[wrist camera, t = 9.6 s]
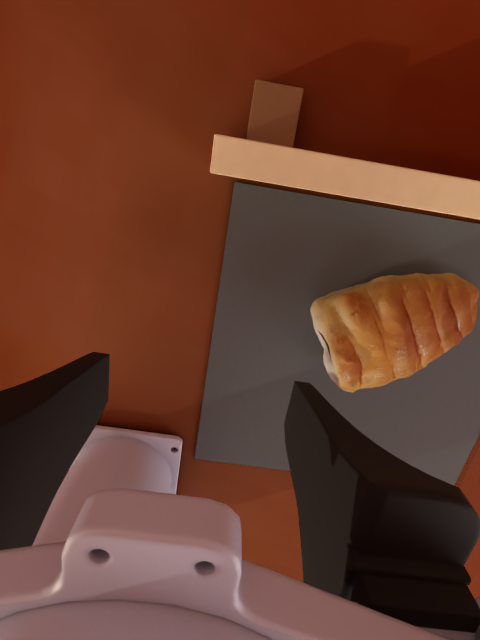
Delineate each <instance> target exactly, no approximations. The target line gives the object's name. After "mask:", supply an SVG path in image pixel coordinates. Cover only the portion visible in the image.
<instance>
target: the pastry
mask: <svg viewBox="0 0 480 640" xmlns="http://www.w3.org/2000/svg"><path fill="white" fill-rule="evenodd" d="M478 297H479V292H478V289H477V287H475V286H474V285H473V284H472V283H470V282H468V281H466V280H464V279H462V278H461V277H459V276H457V275H456V274H453V273H443V274H422V273H414V274H408V275H402V276H397V275H388V276H382V277H378V278H375V279H373V280H372V281H369V282H367V283H364V284H357V285H355V286H352V287H348V288H345V289H341V290H338V291H334V292H331V293H329V294H328V295H326V296H323V297H320V298H318V299H316V300H315V301H314V302H313V303H312V305H311V308H310V312H311V315H312V319H313V326H314V329H315V332H316V334H317V335H318V338H319V341H320V342H321V344H322V346H323V348H324V355H323V361H324V365H325V367H326V370H327V373H328V375H329V376H330V378H331V379H332V380H333V381H334V382H335V383H336V384H337V386H338V387H340V388H341V389H342V390H344V391H347V392H352V393H353V392H355V391H356V390H358V389H363V388H373V387H380V386H384V385H386V384H388V383H390V382H392V381H394V380H396V379H399V378H406V377H410V376H411V375H413V374H414V373H415V372H417V371H419V370H421V369H422V368H424V367H426V366H427V364H428V363H429V362H431V361H433V360H435V359H437V358H439V357H440V356H441V355H442V354H443V353H445V352H447V351H448V350H449V349H450V348H452V347H453V346H455V345H457V344H458V343H459V342H460V341H461V340H462V339H463V338H464V337H465V336H466V335H467V334H469V333H471V332H472V329H473V327H474V325H475V322H476V319H477V299H478Z"/></svg>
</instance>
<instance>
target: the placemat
mask: <svg viewBox="0 0 480 640" xmlns="http://www.w3.org/2000/svg"><path fill="white" fill-rule="evenodd" d="M414 273H422V274H443V273H453V274H456V275H457V276H459V277H461V278H462V279H464V280H466V281H468V282H470V283H472V284H473V285H474V286H475V287H477V289H478V292H479V297H478V299H477V319H476V322H475V325H474V327H473V329H472V332H471V333H469V334H467V335H466V336H465V337H464V338H463V339H462V340H461V341H460V342H459V343H458V344H457V345H455V346H453V347H452V348H450V349H449V350H448V351H447V352H445V353H443V354H442V355H441V356H440V357H439V358H437V359H435V360H433V361H431V362H429V363H428V364H427V366H426V367H424V368H422V369H421V370H419V371H417V372H415V373H414V374H413V375H411V376H410V377H406V378H399V379H396V380H394V381H392V382H390V383H388V384H386V385H384V386H380V387H373V388H363V389H358V390H356V391H355V392H353V393H352V392H347V391H344V390H342V389H341V388H340V387H338V386H337V384H336V383H335V382H334V381H333V380H332V379H331V378H330V376H329V375H328V373H327V370H326V367H325V365H324V361H323V355H324V348H323V346H322V344H321V342H320V341H319V338H318V335H317V334H316V332H315V329H314V326H313V319H312V315H311V312H310V308H311V305H312V303H313V302H314V301H315V300H316V299H318V298H320V297H323V296H326V295H328V294H329V293H331V292H334V291H338V290H341V289H345V288H348V287H352V286H355V285H357V284H364V283H367V282H369V281H372V280H373V279H375V278H378V277H382V276H388V275H397V276H402V275H408V274H414ZM294 381H300V382H307V383H311V384H312V385H313V386H314V387H315V388H316V389H317V390H318V391H319V392H320V394H321V395H322V396H323V397H324V398H325V399H326V400H327V401H328V402H329V403H330V404H331V405H332V406H333V407H334V408H335V409H336V410H337V411H338V412H339V413H340V414H341V415H342V416H343V417H344V418H345V419H346V420H347V421H349V422H350V423H351V424H352V425H353V426H354V427H355V428H357V429H358V430H359V431H360V432H361V433H363V434H364V435H365V436H367V437H368V438H369V439H371V440H372V441H373V442H375V443H376V444H377V445H379V446H380V447H382V448H383V449H385V450H386V451H388V452H389V453H391V454H393V455H394V456H396V457H397V458H399V459H401V460H403V461H404V462H406V463H408V464H410V465H411V466H413V467H415V468H417V469H419V470H421V471H423V472H425V473H427V474H429V475H431V476H433V477H436V478H438V479H440V480H442V481H445V482H447V483H449V484H451V485H455V483H456V481H457V479H458V477H459V474H460V472H461V470H462V468H463V466H464V464H465V462H466V460H467V458H468V456H469V454H470V452H471V450H472V448H473V446H474V444H475V442H476V440H477V438H478V436H479V434H480V224H476V223H471V222H465V221H459V220H453V219H447V218H442V217H436V216H430V215H424V214H418V213H412V212H407V211H401V210H395V209H389V208H383V207H378V206H372V205H366V204H360V203H354V202H348V201H343V200H337V199H331V198H325V197H319V196H314V195H308V194H302V193H296V192H290V191H284V190H279V189H273V188H267V187H261V186H255V185H250V184H244V183H238V182H234V188H233V194H232V201H231V208H230V215H229V222H228V229H227V236H226V243H225V250H224V257H223V264H222V270H221V277H220V284H219V291H218V298H217V305H216V312H215V319H214V326H213V333H212V339H211V346H210V353H209V360H208V367H207V374H206V381H205V388H204V395H203V402H202V408H201V415H200V422H199V429H198V436H197V443H196V450H195V457H194V459H201V460H209V461H217V462H225V463H232V464H240V465H248V466H255V467H263V468H271V469H279V470H286V471H290V467H289V462H288V457H287V452H286V446H285V433H284V422H285V418H286V414H287V410H288V406H289V402H290V398H291V394H292V389H293V385H294Z"/></svg>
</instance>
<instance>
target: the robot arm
mask: <svg viewBox="0 0 480 640" xmlns="http://www.w3.org/2000/svg"><path fill="white" fill-rule="evenodd" d="M109 355H110V354H104V353H97V352H92V353H90V354H87V355H85V356H83V357H81V358H79V359H77V360H75V361H73V362H71V363H69V364H66V365H64V366H62V367H60V368H58V369H56V370H54V371H52V372H49V373H47V374H45V375H42V376H40V377H38V378H35V379H33V380H31V381H28V382H26V383H23V384H20V385H17V386H15V387H12V388H8V389H5V390H2V391H0V640H480V596H479V597H477V598H476V599H474V597H473V596H472V594H471V592H470V590H469V588H468V586H467V585H469V584H470V582H471V578H470V576H469V574H468V572H467V571H466V569H465V567H464V564H465V562H466V560H467V558H468V557H469V555H470V553H471V551H472V550H473V548H474V546H475V544H476V542H477V540H478V537H479V535H480V519H479V516H478V514H477V512H476V511H475V510H474V508H473V507H472V505H471V504H470V502H469V501H468V500H467V498H466V497H465V495H464V494H463V492H462V491H461V490H460V488H458V487H456V486H454V485H451V484H449V483H447V482H445V481H442V480H440V479H438V478H436V477H433V476H431V475H429V474H427V473H425V472H423V471H421V470H419V469H417V468H415V467H413V466H411V465H410V464H408V463H406V462H404V461H403V460H401V459H399V458H397V457H396V456H394V455H393V454H391V453H389V452H388V451H386V450H385V449H383V448H382V447H380V446H379V445H377V444H376V443H375V442H373V441H372V440H371V439H369V438H368V437H367V436H365V435H364V434H363V433H361V432H360V431H359V430H358V429H357V428H355V427H354V426H353V425H352V424H351V423H350V422H349V421H347V420H346V419H345V418H344V417H343V416H342V415H341V414H340V413H339V412H338V411H337V410H336V409H335V408H334V407H333V406H332V405H331V404H330V403H329V402H328V401H327V400H326V399H325V398H324V397H323V396H322V395H321V394H320V392H319V391H318V390H317V389H316V388H315V387H314V386H313V385H312V384H311V383H307V382H300V381H294V385H293V389H292V394H291V398H290V402H289V406H288V410H287V414H286V418H285V422H284V433H285V446H286V452H287V457H288V462H289V467H290V471H291V476H292V481H293V486H294V491H295V495H296V501H297V507H298V516H299V527H300V537H301V550H302V563H303V579H304V583H303V582H301V581H298V580H295V579H293V578H290V577H288V576H285V575H283V574H280V573H277V572H275V571H272V570H270V569H267V568H265V567H262V566H259V565H257V564H254V563H252V562H249V561H247V560H244V559H242V531H241V524H240V517H239V516H238V515H237V514H236V513H235V512H234V511H233V510H232V509H231V508H230V507H229V506H228V505H226V504H223V503H220V502H218V501H215V500H212V499H208V498H200V497H192V496H184V495H176V490H177V482H178V474H179V466H180V459H181V451H182V443H183V441H182V439H181V438H180V437H179V436H174V435H167V434H159V433H152V432H144V431H137V430H129V429H121V428H114V427H106V426H99V425H97V423H98V421H99V419H100V417H101V415H102V413H103V410H104V408H105V406H106V403H107V401H108V387H109ZM172 447H175V448H177V449H173V448H172ZM68 470H69V472H68ZM67 472H68V474H67V476H66V477H65V475H66V473H67ZM64 477H65V479H64ZM63 479H64V481H63ZM62 481H63V482H62ZM61 483H62V484H61ZM60 485H61V486H60ZM59 487H60V488H59Z"/></svg>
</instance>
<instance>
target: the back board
mask: <svg viewBox="0 0 480 640" xmlns="http://www.w3.org/2000/svg"><path fill="white" fill-rule="evenodd" d="M303 93H304V89H303V88H300V87H294V86H289V85H284V84H278V83H273V82H268V81H262V80H255V84H254V90H253V97H252V104H251V110H250V117H249V124H248V130H247V137H246V139H242V138H236V137H230V136H225V135H219V134H215V135H214V141H213V149H212V158H211V166H210V173H213V174H219V175H225V176H230V177H236V178H242V179H248V180H254V181H259V182H265V183H271V184H277V185H283V186H288V187H294V188H300V189H306V190H312V191H317V192H323V193H329V194H335V195H341V196H346V197H352V198H358V199H364V200H370V201H375V202H381V203H387V204H393V205H398V206H404V207H410V208H416V209H422V210H427V211H433V212H439V213H445V214H451V215H456V216H462V217H468V218H474V219H480V181H477V180H471V179H466V178H460V177H454V176H449V175H443V174H438V173H432V172H426V171H421V170H415V169H410V168H404V167H398V166H393V165H387V164H382V163H376V162H370V161H365V160H359V159H354V158H348V157H342V156H337V155H331V154H326V153H320V152H314V151H309V150H303V149H298V148H293V145H294V139H295V134H296V129H297V124H298V119H299V114H300V108H301V103H302V98H303Z"/></svg>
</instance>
